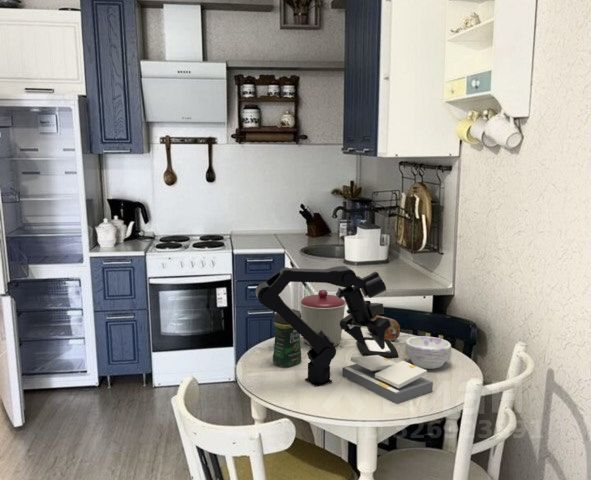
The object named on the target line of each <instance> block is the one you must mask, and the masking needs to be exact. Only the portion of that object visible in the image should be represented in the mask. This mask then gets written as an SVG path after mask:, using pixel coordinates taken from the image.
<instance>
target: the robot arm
mask: <svg viewBox="0 0 591 480" xmlns="http://www.w3.org/2000/svg"><path fill="white" fill-rule="evenodd" d="M290 283H315V284H316V283H320V284H321V283H322V284H325V283H326V284H329V285H333V286H336V287H338V288H337V292H336V293H335V296H337V297H338V298H343V299H344V300H345V302H346V304H347V305H346V307H347V308H348V309H346V314H347V315H346V316H344V318H343V319H342V320H341V321H340V327H341V329H342V331H343V330H344V332H346V333H347V334H348V335H349V336H351V337H352V338H353V339H354V340H356V342H357V341H358V342H359V343H360V344H361V345H362V346H364V345H365V340H364V337H365V336H364V335H363V332H362V328H363V327H366V328H367V327H369V328H368V329H369V331H368V332H371V333H372V334H370V333H369V334H370V337H371V338H373V339H374V340H375V342H376V343H377V344H378V345H379V347H380V348H381V349H384V348H385V331H386V330H387V329H388V328H389V327H390V326H391V323H390V320H389V319H387V318H388V317H386V318H380V317H378V318H377V319H376V320H374V321H372V320H371V319H372V318H375V317H376V316H378V315H383V314H385V309H384V304H383V303H378V302H371V301H370V300H365V297H368V298H370V299H372V298H374V297H375V296H378V295H380V294H382V293H384V292H386V291H387V286H386V284H385V282H384V281H383V279H382V277H381V275H380V274H379V272H377V271H373V272H371V273H370V274H369V275H366V276H363V277H362V278H361V276H358V275H357V274H356V272H355V271H354V270H352V269H351V268H350V267H348V266H346V265H340V266H339V265H338V266H333V267H329V268H299V267H298V268H296V267H295V268H293V267H282V268H281V269H280V270H279V271H278V272H277V273H276V274H273V275H272V276H271V277H269V278H268V279H266V281H265V282H261V283H259V284H258V285H257V286H256V288H255V295H256V298H257V300H258V301H259V303H260V304H261V305H263V306H264V307H265V308H268V309H269V310H271V311H273V312H274V313H275V312H276V313H278V314H279V315H280V316H281V317H282V318H283V319H284V320H285V321H286V322H287V323H289V324H290V325H291V326H292V327H293V328H294V329H295V330H296V331H297V332H298V333H299V334H300V337H302V338H303V339H304V340H305V339H306V340H307V341H308V342H309V344H310V345H311V348H310V349H309V350H308V351H307V352H306V354H307V355H306V356H307V358H308V359H309V362H307V377H306V378H304V381H305V382H307V383H309V384H311V385H312V386H314V387H317V388H318V387H321V386H325V385H327V384H331V383H333V380H332V379H331V366H330V365H331V362H332V360H333V359H334V358H335V356H336V354H337V349H336V346H333V345H334V342H333V341H332V340H331V339H330V337H328V336H326V335H325V334H324V332H323V331H322V330H321V331H320V332H319V333H318V332H316V331H314V330H313V329H312V328H311V327H310V326H309V325H307V324H306V323H305V322H304V321H303V320H302V319H301V318H302V317H301V318H300V317H299V316H298V315H297V314H296V313H295V312H294V311H293V310H292V309H293V308H292V309H291V308H290V307H288V306H287V305H286V304H285V303H284V302H283V300H282V299H281V297H280V296H279V294H280V293H281V292H282V291H283V290H284V288H285V287H286V286H287V285H288V284H289V285H290ZM340 287H342V288H340ZM364 296H365V297H364ZM368 329H367V330H368ZM310 345H309V346H310Z"/></svg>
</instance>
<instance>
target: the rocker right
mask: <svg viewBox="0 0 591 480" xmlns="http://www.w3.org/2000/svg"><path fill="white" fill-rule="evenodd" d="M396 363H397V364H395V365H392V366H390V367H388V368H386V369H384V370H382V371H380V372H378V373H376V374H375V378H378V379H380V380H382V381H384V382H386V383H388V384H390V385H392V386H395V387H397V388H401V387H403V386H405V385H407V384H409V383H411V382H413V381H414V380H416V379H418V378H420V377H422V378H423V377H424V376H427V374H428V369H425V368H421V367H418V366H416V365H414V364H413V363H412V364H411V363H410V362H407V361H405V360H401V361H399V362H396Z"/></svg>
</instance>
